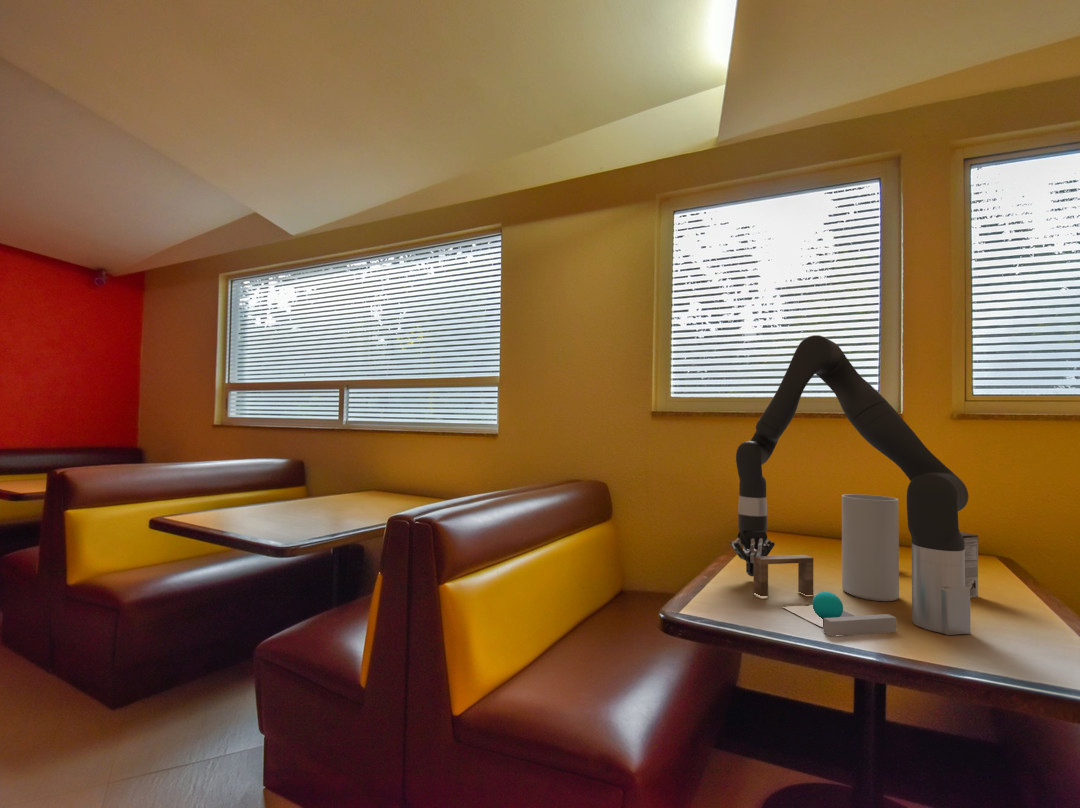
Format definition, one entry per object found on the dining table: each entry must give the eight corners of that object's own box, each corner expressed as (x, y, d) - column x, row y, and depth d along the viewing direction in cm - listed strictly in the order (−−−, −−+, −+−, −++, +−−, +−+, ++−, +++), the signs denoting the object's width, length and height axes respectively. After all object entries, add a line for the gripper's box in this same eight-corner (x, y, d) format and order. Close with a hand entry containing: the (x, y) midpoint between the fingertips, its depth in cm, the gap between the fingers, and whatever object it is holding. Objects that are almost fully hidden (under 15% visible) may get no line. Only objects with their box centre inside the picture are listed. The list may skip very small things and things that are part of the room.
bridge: (813, 596, 133) (813, 557, 133) (760, 599, 130) (761, 559, 130) (805, 592, 136) (805, 554, 136) (753, 595, 133) (753, 556, 133)
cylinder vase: (831, 590, 138) (831, 495, 140) (860, 584, 144) (860, 493, 145) (880, 605, 127) (880, 501, 129) (909, 598, 133) (908, 499, 134)
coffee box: (926, 588, 142) (925, 528, 143) (942, 586, 144) (941, 527, 145) (963, 599, 134) (962, 535, 134) (979, 597, 136) (978, 534, 137)
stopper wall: (896, 631, 110) (896, 617, 110) (830, 636, 107) (830, 621, 107) (888, 628, 112) (887, 614, 112) (823, 632, 109) (823, 618, 109)
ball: (844, 589, 116) (827, 594, 121) (820, 589, 115) (803, 593, 120) (852, 619, 113) (834, 622, 118) (827, 618, 112) (810, 621, 117)
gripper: (739, 515, 141) (738, 580, 140) (782, 514, 144) (782, 578, 143) (723, 510, 149) (723, 572, 148) (765, 510, 151) (764, 571, 151)
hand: (752, 575), depth 145 cm, fingers closed
